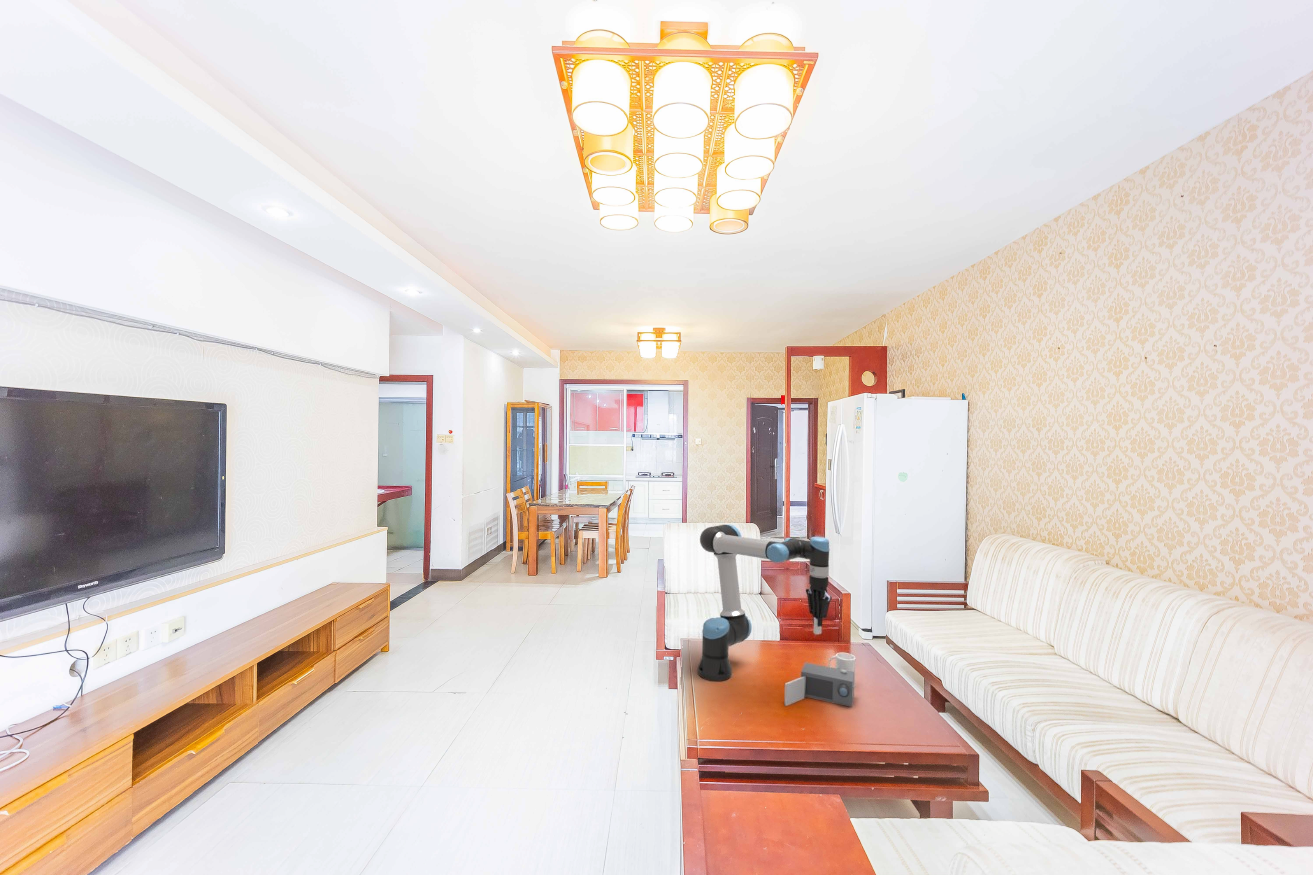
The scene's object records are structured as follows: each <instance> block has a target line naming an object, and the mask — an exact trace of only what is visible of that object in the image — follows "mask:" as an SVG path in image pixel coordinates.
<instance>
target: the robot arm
mask: <svg viewBox="0 0 1313 875" xmlns="http://www.w3.org/2000/svg"><path fill="white" fill-rule="evenodd" d="M699 543H700V546H701V547H702V550H705V552H707V553H713V555H714V557H716V559H717V567H718V568H717V569H718V575H719V585H720V595H721V603H722V604H721V605H722V610H721V611H720V613H719V616H720V617H711V618H708V619H706V620H705V621H704V622H703V625H702V641H701V642H702V645H701V646H702V649H701V650H702V652H701V657H700V660H699V663H698V666H697V675H698V676H700V678H703V679H704V680H708V681H713V682H721V681H722V682H723V681H728V680H730V679H731V678H732V676H733V669H732V665H731V662H730V658H729V649H730V647H732V646H734V645H736V644H739V643H742V642H744V641H745V640H747V639H748V638H749V637H750V636H751V633H752V623H751V620H750V619H749V617H748V616H747V615H746V612H745V610H743V608H742V605H741V604H742V603H741V595H740V594H741V593H740V586H739V585H740V584H739V576H738V568H737V567H738V566H737V558H736V557H737V555H741V556H746V557H752V558H758V559H765V560H769V561H770V562H772V563H775V564H778V563H785V562H787V561H790V560H795V559H799V558H800V559H805V560H809V581H808V582H809V583H808V584H809V585H810V587H809V588H806V589H805V593H806V595H807V604H808V610H809V611H808V612H809V614H811V615H812V617H813V618H812V619H813V620H812V623H813V624H812V625H813V634H814V635H821V634H822V627H823V619H826V618H827V617H828V612H829V608H830V602H831V600H832V599H833V597H832V596H831V595H829V594H828V590H827V588H828V587H829V576H830V574H829V573H830V572H829V570H830V567H829V566H830V565H829V564H830V563H829V561H830V550H831V549H830V541H829V539H828V538H827V537H822V536H811V538H810V539H809V540H805V539H800V538H796V537H786V538H785V539H784V540H783V541H781V542H779V541H772V540H764V539H757V538H751V537H744V536H742V534H741V532H740V530H739V529H738V528H737V526H735V525H733V524H725V523H724V524H719V525H714V526H709V527H706V528H704V530H703V531H701V534H700V536H699Z"/></svg>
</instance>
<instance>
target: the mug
mask: <svg viewBox="0 0 1313 875" xmlns="http://www.w3.org/2000/svg"><path fill="white" fill-rule="evenodd" d="M833 659H835V668H837V669H845V670H847V671H852V672H855V673H856V656H855V655H853V654H851V653H847V652H837V653H836V654H835V655H833V656H831V657H830V658H829V659H828V667H831V668H832V666H831V660H833ZM855 687H856V676H855V677H854V688H855Z"/></svg>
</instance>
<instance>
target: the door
mask: <svg viewBox="0 0 1313 875" xmlns="http://www.w3.org/2000/svg"><path fill="white" fill-rule="evenodd" d="M805 689H806V677H805V676H803V677H801V676H800V677H798V678H795V679H793V680H790V681H788V682H785V683H784V704H783V705H784V706H787V707H788V706H790V705H792V704H794V703H797V702H798V701H801V700H804V699H806V697H805Z"/></svg>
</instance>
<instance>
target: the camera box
mask: <svg viewBox="0 0 1313 875" xmlns="http://www.w3.org/2000/svg"><path fill="white" fill-rule="evenodd" d="M803 676H805V677H806V689H805V698H810V699H813V700H819V701H824V702H828V703H832V704H837V705H842V706H846V707H851V708H852V707H853V704H854V698H855V687H854V677H855V678H856V671H855V672H852V671H847V670H845V669H837V668H836V667H832V666H831V667H829V666H826V665H825V666H824V665H820V664H815V663H809V662H804V663H803V666H802V667H801V670H800V677H803Z"/></svg>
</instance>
